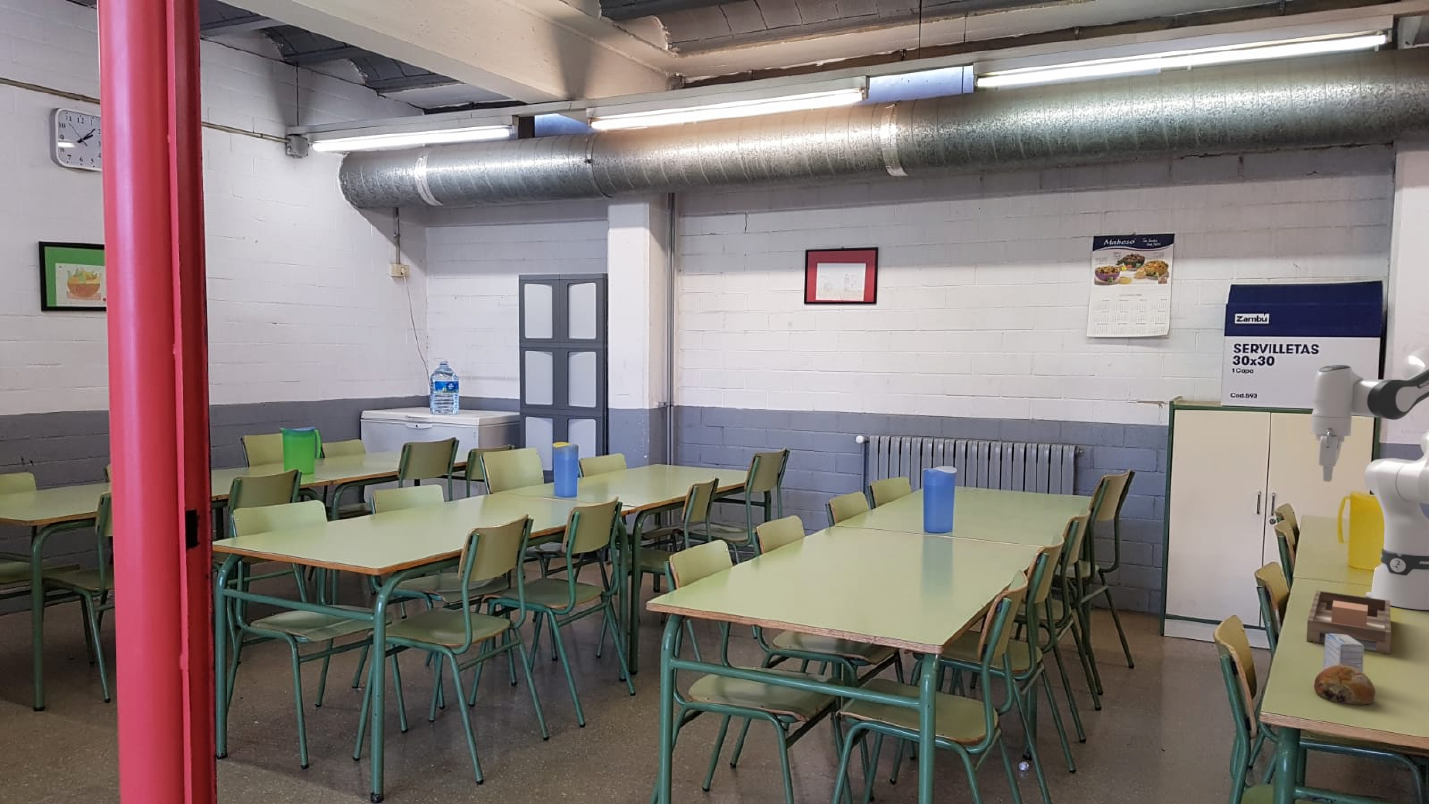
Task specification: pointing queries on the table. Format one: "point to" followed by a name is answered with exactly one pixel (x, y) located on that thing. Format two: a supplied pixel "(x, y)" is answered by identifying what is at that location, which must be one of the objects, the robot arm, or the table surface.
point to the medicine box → (1343, 651)
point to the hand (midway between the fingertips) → (1327, 481)
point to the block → (1349, 613)
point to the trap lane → (1370, 637)
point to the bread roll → (1344, 685)
